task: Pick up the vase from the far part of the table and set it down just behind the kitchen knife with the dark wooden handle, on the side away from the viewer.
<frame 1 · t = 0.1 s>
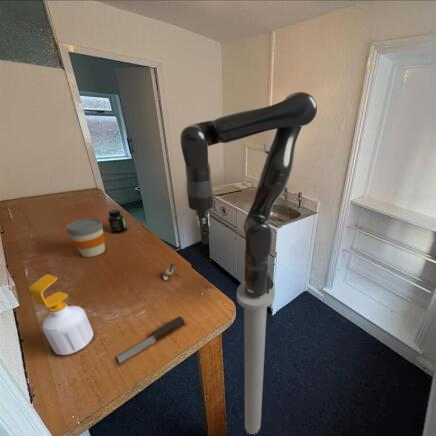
hand: (204, 237, 80), 28 cm above the table, tool pointing down, fingers open, 8 cm apart
reusable coffee cup: (93, 251, 112), on the table
knife: (155, 338, 74), on the table
soap bottle: (75, 342, 71), on the table
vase: (170, 276, 101), on the table
supplement bottle: (119, 230, 131), on the table
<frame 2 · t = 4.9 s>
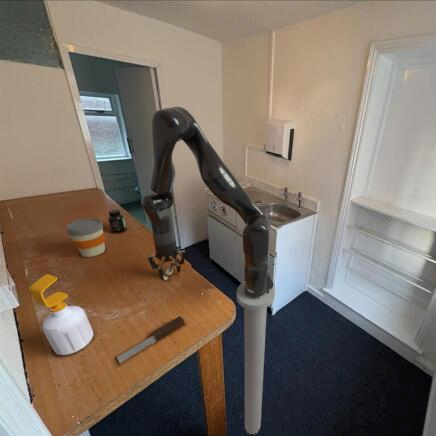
hand: (170, 273, 100), 2 cm above the table, tool pointing down, fingers closed on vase, 5 cm apart
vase: (170, 276, 101), on the table, touching gripper
everything else where it was.
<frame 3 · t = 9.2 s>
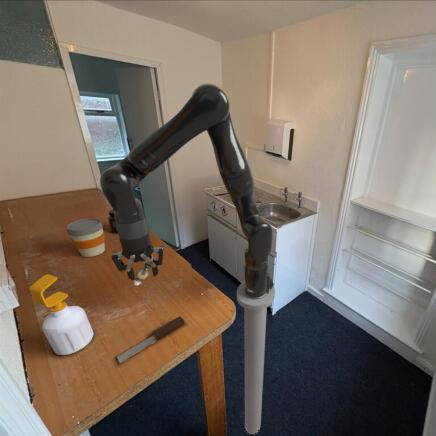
hand: (144, 276, 76), 16 cm above the table, tool pointing down, fingers closed on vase, 5 cm apart
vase: (145, 280, 77), point 14 cm above the table, touching gripper
everything else where it was.
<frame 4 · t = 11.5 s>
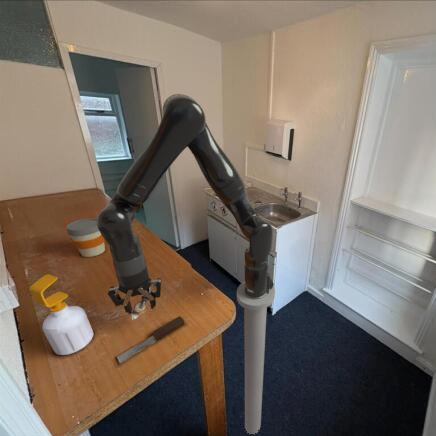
hand: (142, 309, 75), 8 cm above the table, tool pointing down, fingers closed on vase, 5 cm apart
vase: (142, 313, 75), point 6 cm above the table, touching gripper
everything else where it was.
when the fingers open (2 cm above the table, at t = 13.5 s): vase stays where it is, on the table.
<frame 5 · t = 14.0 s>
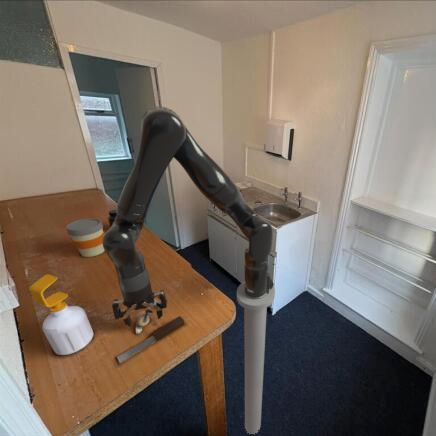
hand: (145, 320, 77), 2 cm above the table, tool pointing down, fingers open, 8 cm apart
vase: (146, 326, 78), on the table
everything else where it was.
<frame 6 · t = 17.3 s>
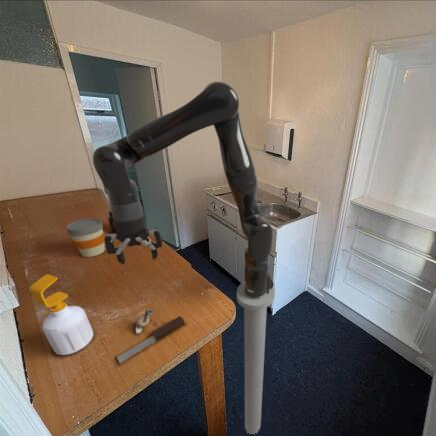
hand: (139, 260, 75), 22 cm above the table, tool pointing down, fingers open, 8 cm apart
nothing on the table moved.
at the end: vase inside the target area on the table beside the knife (0.7 cm from its centre), on the table; knife moved 0.0 cm from its start; the gripper is holding nothing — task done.
